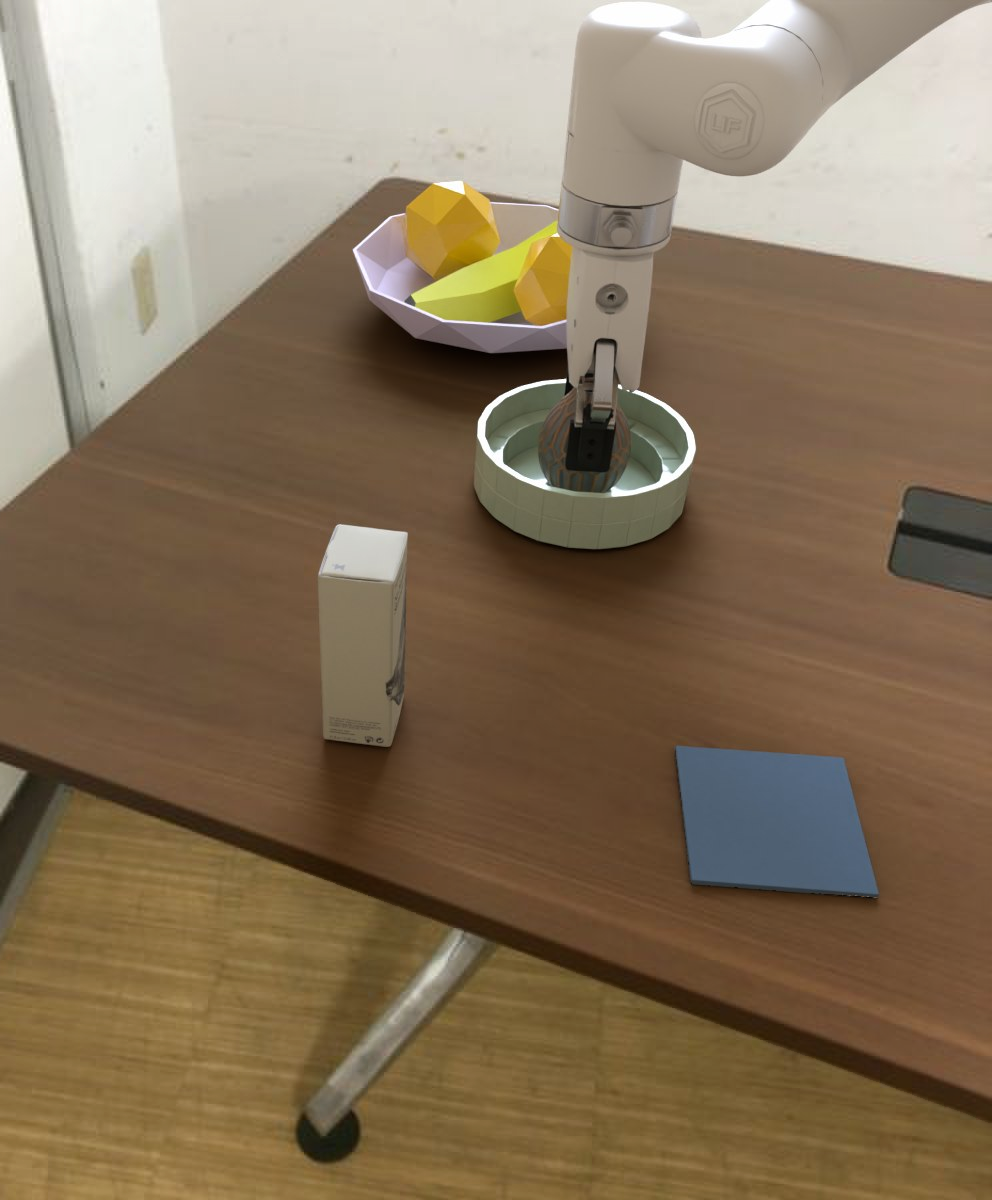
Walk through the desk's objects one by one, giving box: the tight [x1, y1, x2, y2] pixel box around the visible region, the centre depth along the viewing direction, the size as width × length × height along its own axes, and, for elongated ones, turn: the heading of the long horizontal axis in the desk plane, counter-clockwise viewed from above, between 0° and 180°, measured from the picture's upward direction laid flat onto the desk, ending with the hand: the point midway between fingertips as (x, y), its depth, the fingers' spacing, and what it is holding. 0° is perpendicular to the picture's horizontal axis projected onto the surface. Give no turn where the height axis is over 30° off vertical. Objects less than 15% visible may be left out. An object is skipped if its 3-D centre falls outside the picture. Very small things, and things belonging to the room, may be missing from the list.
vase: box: [538, 378, 631, 493], centre depth 93 cm, size 7×7×9 cm
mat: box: [674, 745, 880, 898], centre depth 71 cm, size 10×10×1 cm
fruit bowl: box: [352, 180, 572, 354], centre depth 114 cm, size 28×27×11 cm
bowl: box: [473, 378, 697, 550], centre depth 95 cm, size 16×16×5 cm
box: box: [317, 523, 409, 748], centre depth 73 cm, size 5×4×13 cm
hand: (585, 438), depth 93 cm, fingers closed on vase, 6 cm apart
